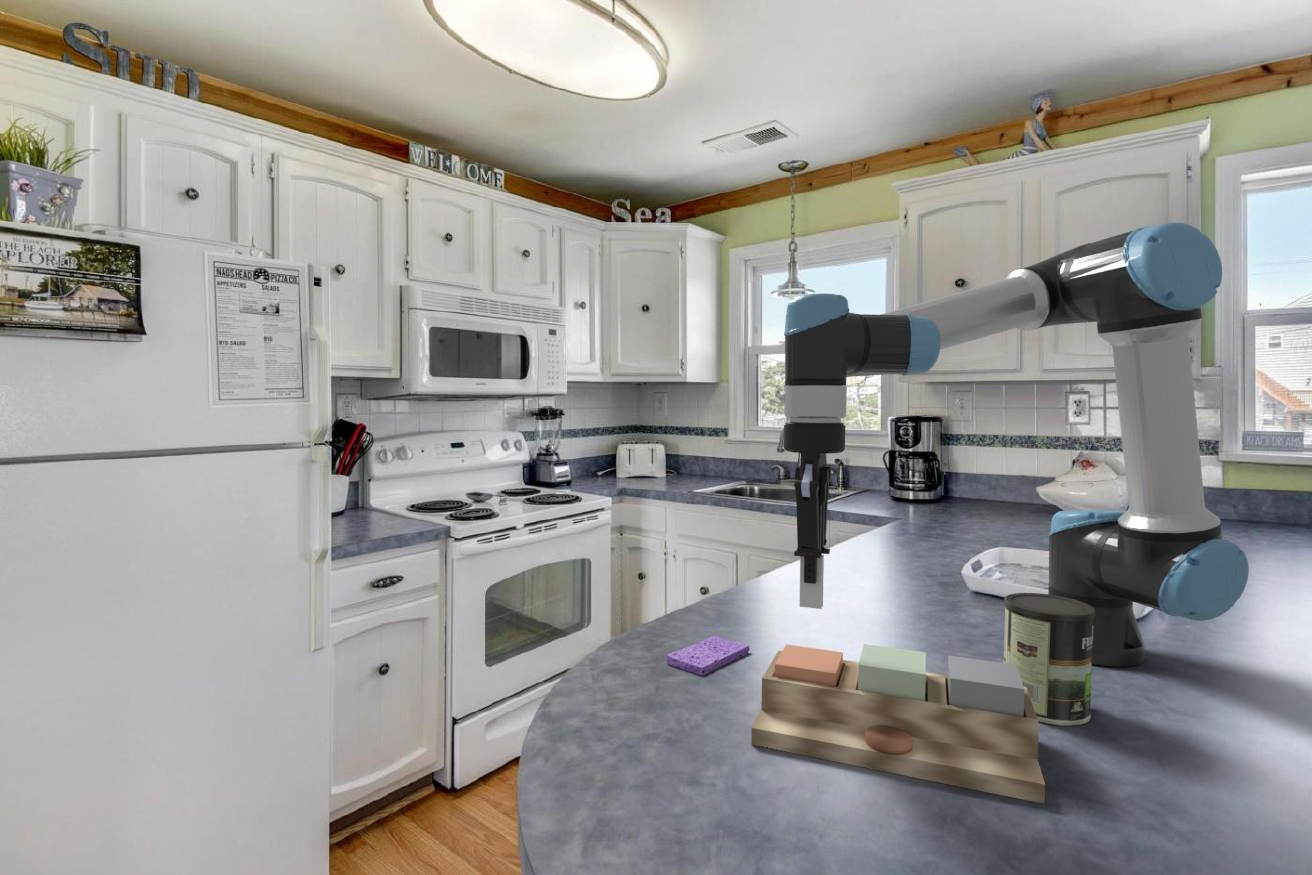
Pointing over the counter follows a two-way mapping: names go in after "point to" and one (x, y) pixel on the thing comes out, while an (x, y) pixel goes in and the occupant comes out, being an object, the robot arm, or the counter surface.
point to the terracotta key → (810, 665)
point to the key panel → (903, 733)
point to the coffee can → (1052, 654)
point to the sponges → (707, 655)
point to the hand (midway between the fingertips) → (811, 605)
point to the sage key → (892, 672)
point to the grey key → (985, 686)
